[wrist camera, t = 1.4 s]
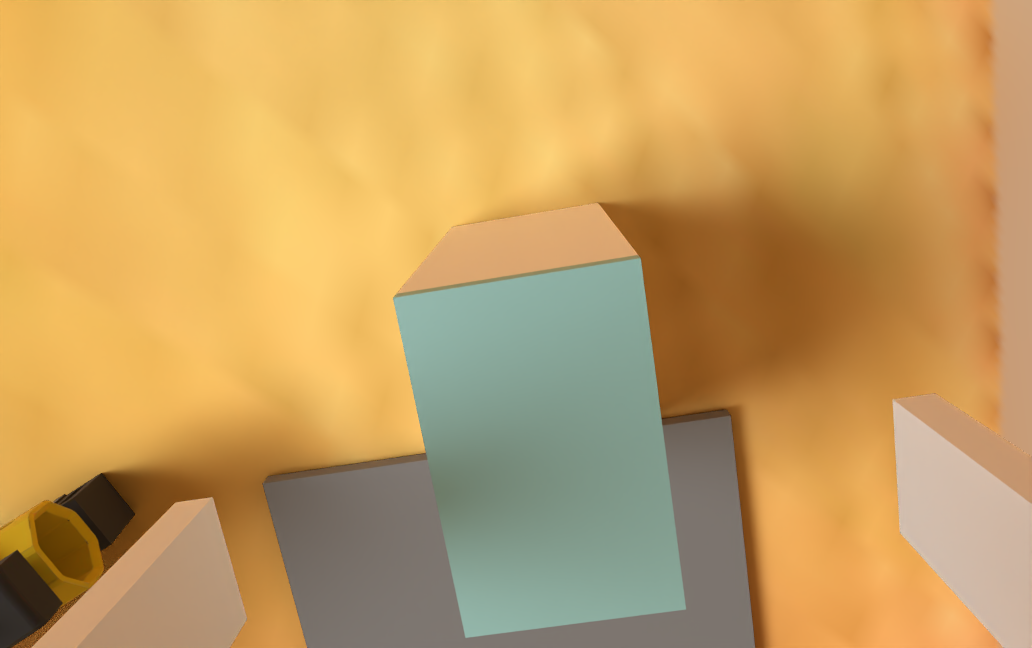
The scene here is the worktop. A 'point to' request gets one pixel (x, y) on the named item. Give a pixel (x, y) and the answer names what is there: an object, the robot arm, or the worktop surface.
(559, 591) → the cream rectangular block
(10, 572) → the toy gun
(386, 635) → the mat
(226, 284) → the worktop surface
